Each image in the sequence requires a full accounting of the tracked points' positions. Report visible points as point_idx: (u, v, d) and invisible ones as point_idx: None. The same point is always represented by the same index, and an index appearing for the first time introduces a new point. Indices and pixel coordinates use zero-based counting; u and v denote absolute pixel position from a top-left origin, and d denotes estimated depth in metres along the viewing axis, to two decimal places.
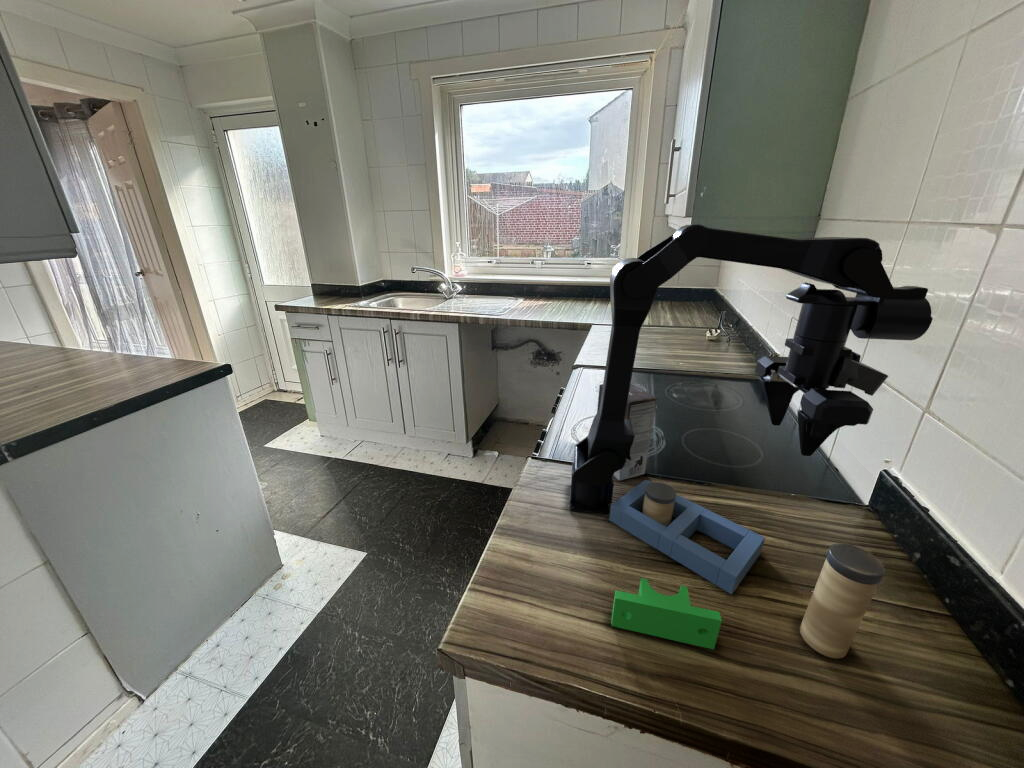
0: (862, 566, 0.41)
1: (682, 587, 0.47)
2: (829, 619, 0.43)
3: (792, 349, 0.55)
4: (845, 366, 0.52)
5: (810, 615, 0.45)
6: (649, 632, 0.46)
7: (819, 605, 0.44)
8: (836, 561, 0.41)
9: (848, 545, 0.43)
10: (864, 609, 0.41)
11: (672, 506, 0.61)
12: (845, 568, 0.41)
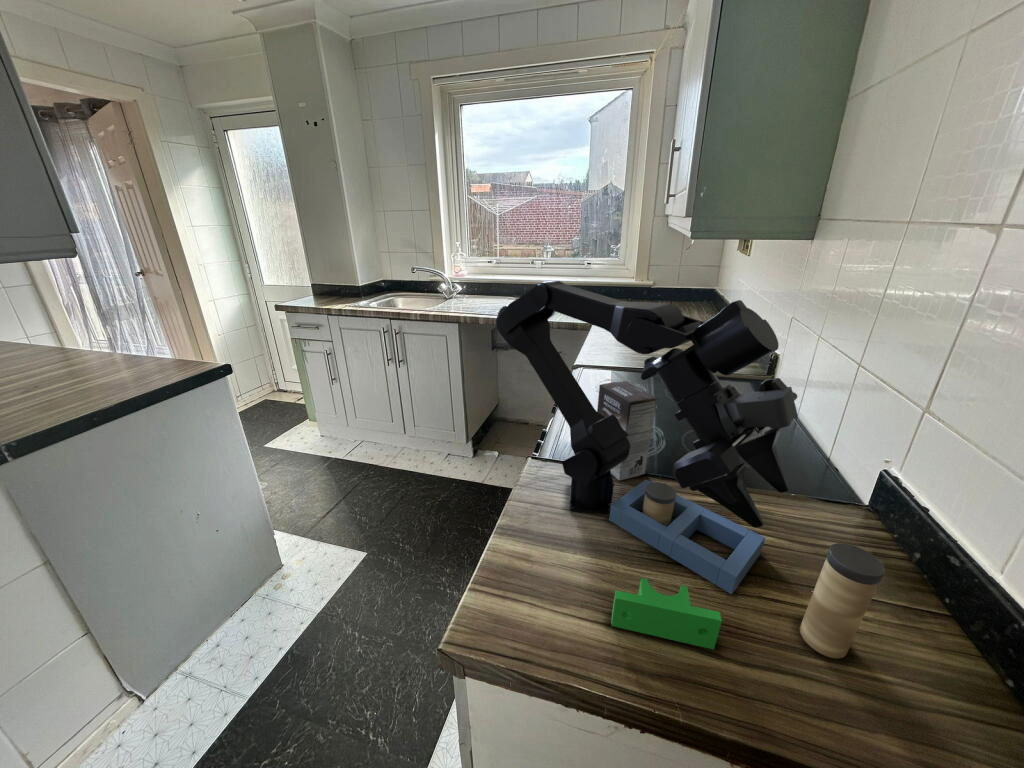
0: (862, 566, 0.41)
1: (682, 587, 0.47)
2: (829, 619, 0.43)
3: None
4: (720, 413, 0.46)
5: (810, 615, 0.45)
6: (649, 632, 0.46)
7: (819, 605, 0.44)
8: (836, 561, 0.41)
9: (848, 545, 0.43)
10: (864, 609, 0.41)
11: (672, 506, 0.61)
12: (845, 568, 0.41)
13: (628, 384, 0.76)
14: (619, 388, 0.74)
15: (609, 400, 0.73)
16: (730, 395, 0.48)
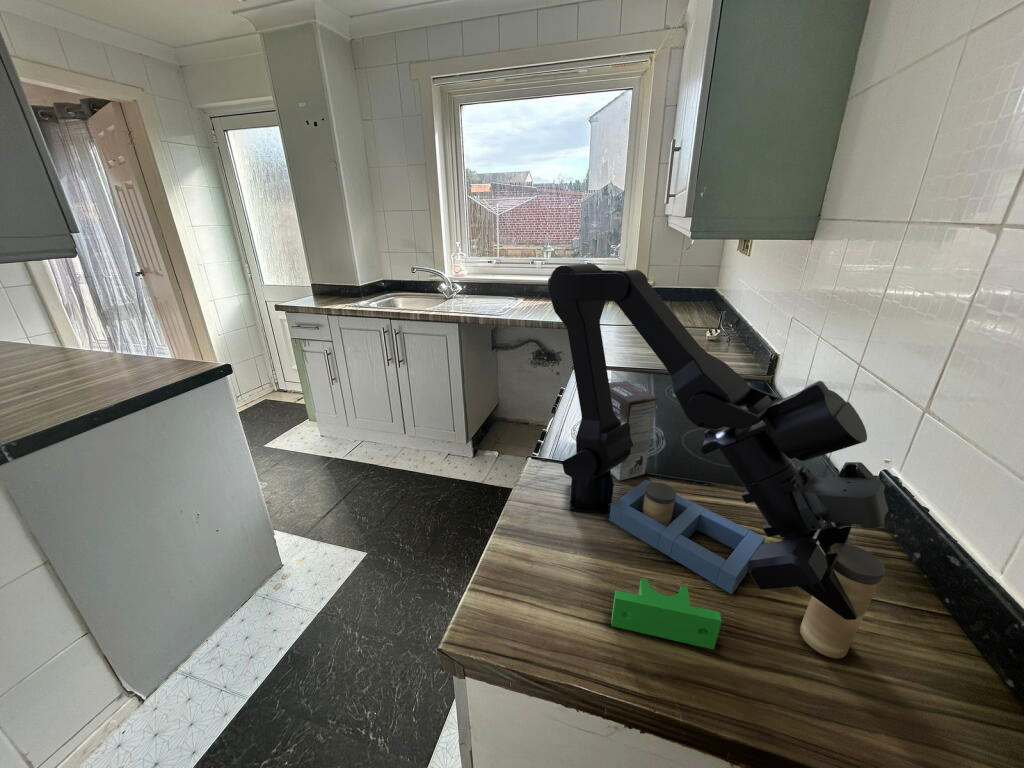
0: (862, 566, 0.41)
1: (682, 587, 0.47)
2: (829, 619, 0.43)
3: None
4: (799, 503, 0.42)
5: (810, 615, 0.45)
6: (649, 632, 0.46)
7: (819, 605, 0.44)
8: (836, 561, 0.41)
9: (848, 545, 0.43)
10: (864, 609, 0.41)
11: (672, 506, 0.61)
12: (845, 568, 0.41)
13: (628, 384, 0.76)
14: (619, 388, 0.74)
15: None
16: (805, 479, 0.44)
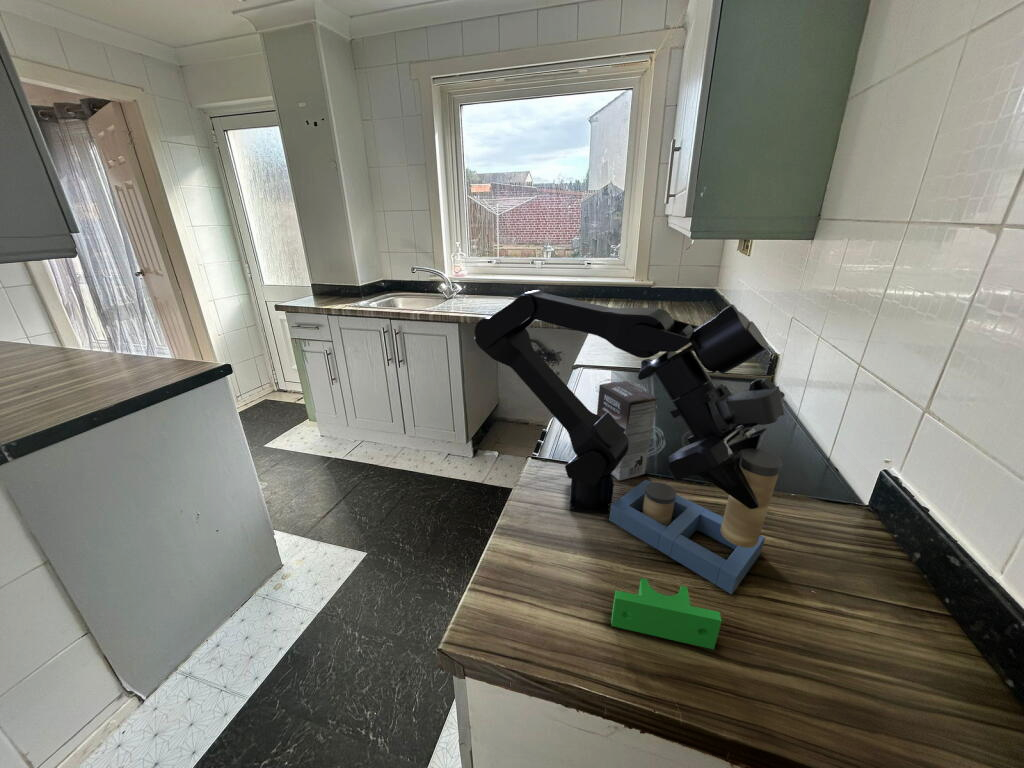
0: (763, 462, 0.48)
1: (682, 587, 0.47)
2: (739, 512, 0.50)
3: None
4: (712, 410, 0.49)
5: (726, 512, 0.52)
6: (649, 632, 0.46)
7: (732, 501, 0.51)
8: (743, 459, 0.49)
9: (757, 449, 0.50)
10: (766, 500, 0.49)
11: (672, 506, 0.61)
12: (749, 464, 0.48)
13: (628, 384, 0.76)
14: (619, 388, 0.74)
15: (609, 400, 0.73)
16: (722, 394, 0.51)
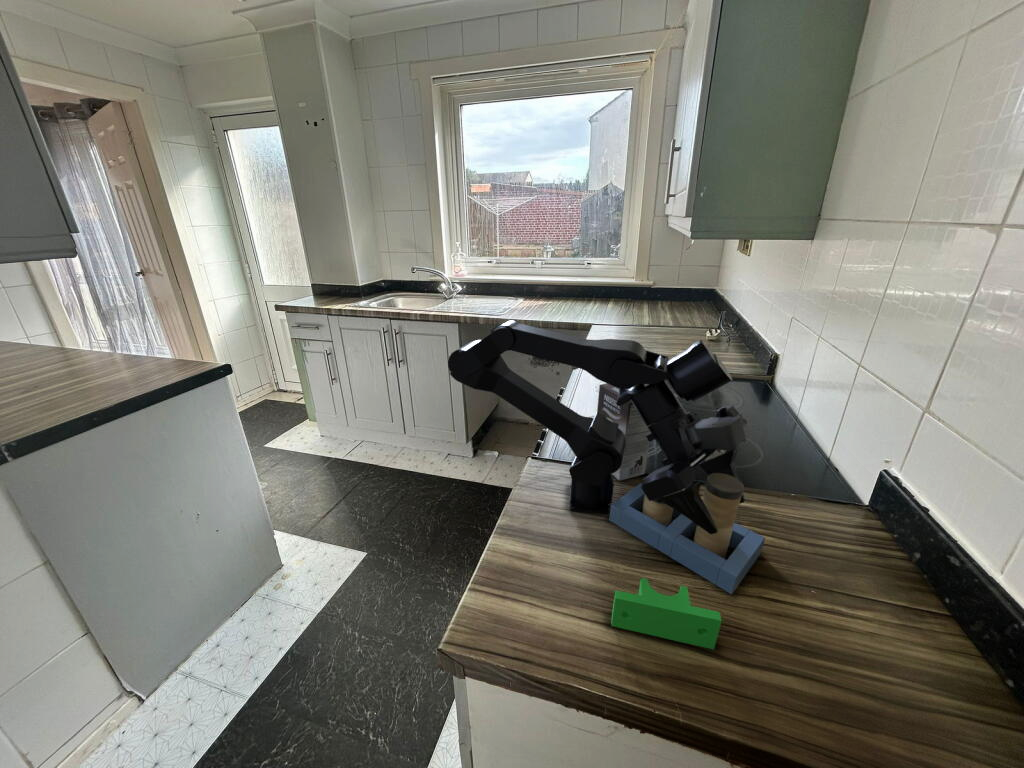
0: (727, 486, 0.53)
1: (682, 587, 0.47)
2: None
3: None
4: (682, 436, 0.54)
5: (696, 531, 0.57)
6: (649, 632, 0.46)
7: None
8: (709, 484, 0.54)
9: (723, 474, 0.56)
10: (730, 521, 0.54)
11: None
12: (714, 488, 0.53)
13: None
14: (619, 388, 0.74)
15: (609, 400, 0.73)
16: (692, 420, 0.56)
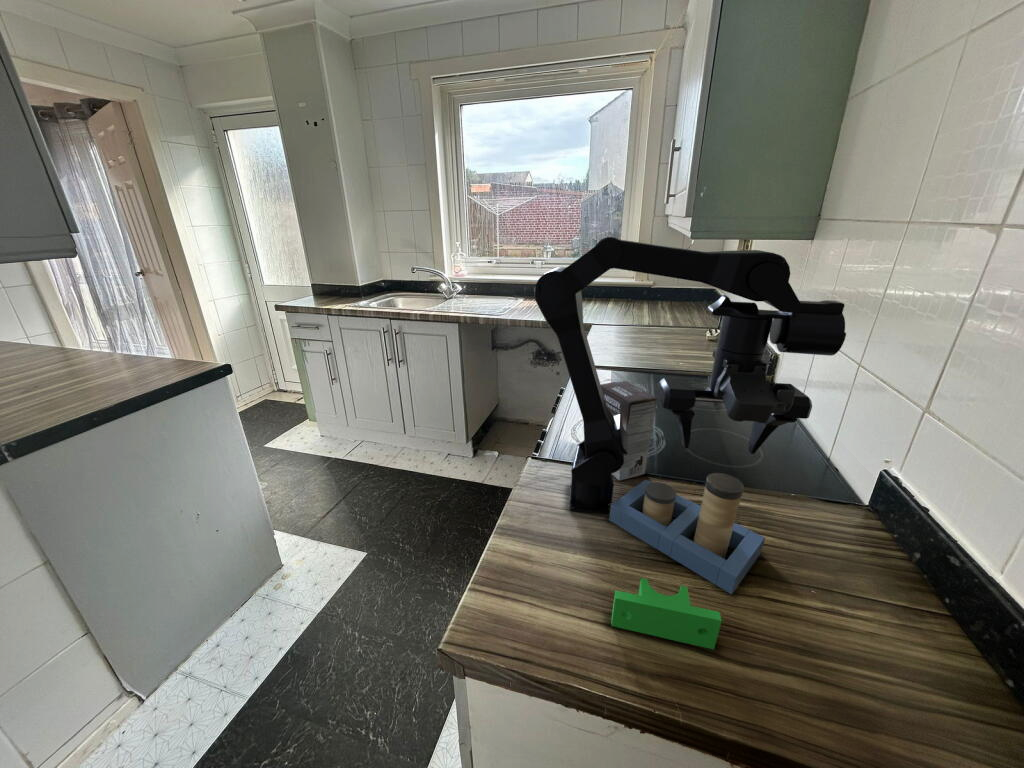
0: (727, 486, 0.53)
1: (682, 587, 0.47)
2: (707, 531, 0.55)
3: None
4: (720, 376, 0.53)
5: (696, 531, 0.57)
6: (649, 632, 0.46)
7: (701, 521, 0.56)
8: (709, 484, 0.54)
9: (723, 474, 0.56)
10: (730, 521, 0.54)
11: (672, 506, 0.61)
12: (714, 488, 0.53)
13: (628, 384, 0.76)
14: (619, 388, 0.74)
15: (609, 400, 0.73)
16: (752, 371, 0.52)
